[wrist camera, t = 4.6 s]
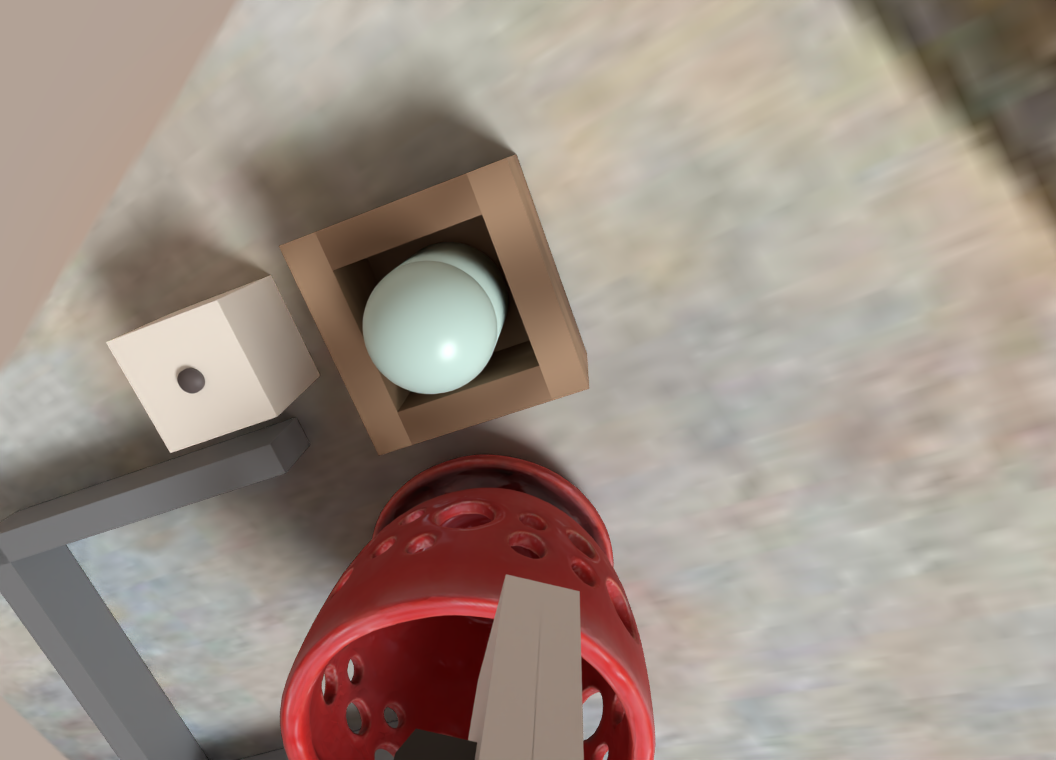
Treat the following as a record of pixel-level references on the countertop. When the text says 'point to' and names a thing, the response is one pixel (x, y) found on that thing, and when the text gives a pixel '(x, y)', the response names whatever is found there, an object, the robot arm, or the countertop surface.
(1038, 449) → the countertop surface
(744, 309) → the countertop surface
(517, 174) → the button box
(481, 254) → the dome button
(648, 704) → the plant pot
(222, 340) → the cream cube with hole
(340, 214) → the countertop surface
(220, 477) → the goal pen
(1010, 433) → the countertop surface
